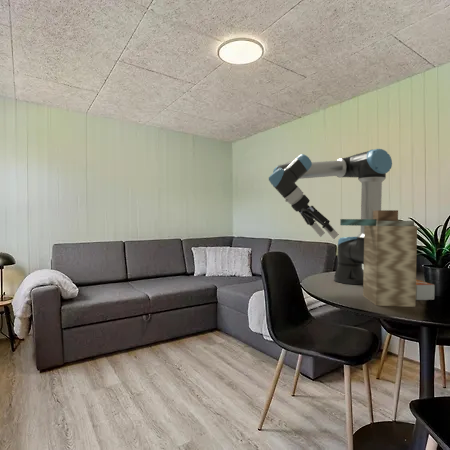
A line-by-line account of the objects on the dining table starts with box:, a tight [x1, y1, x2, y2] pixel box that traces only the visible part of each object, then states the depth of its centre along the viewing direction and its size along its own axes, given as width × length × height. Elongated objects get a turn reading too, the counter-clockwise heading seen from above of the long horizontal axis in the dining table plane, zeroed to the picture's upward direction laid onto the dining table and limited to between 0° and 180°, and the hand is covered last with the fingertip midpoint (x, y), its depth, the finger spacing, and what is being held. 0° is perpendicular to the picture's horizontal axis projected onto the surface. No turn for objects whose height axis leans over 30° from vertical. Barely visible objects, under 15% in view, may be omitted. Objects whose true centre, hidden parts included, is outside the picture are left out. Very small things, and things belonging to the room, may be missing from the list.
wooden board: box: [362, 220, 418, 308], centre depth 120 cm, size 14×14×32 cm
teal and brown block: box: [340, 209, 399, 227], centre depth 120 cm, size 20×7×6 cm, turn 78°
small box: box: [416, 278, 436, 301], centre depth 128 cm, size 8×6×13 cm
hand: (329, 235), depth 131 cm, fingers open, 13 cm apart
